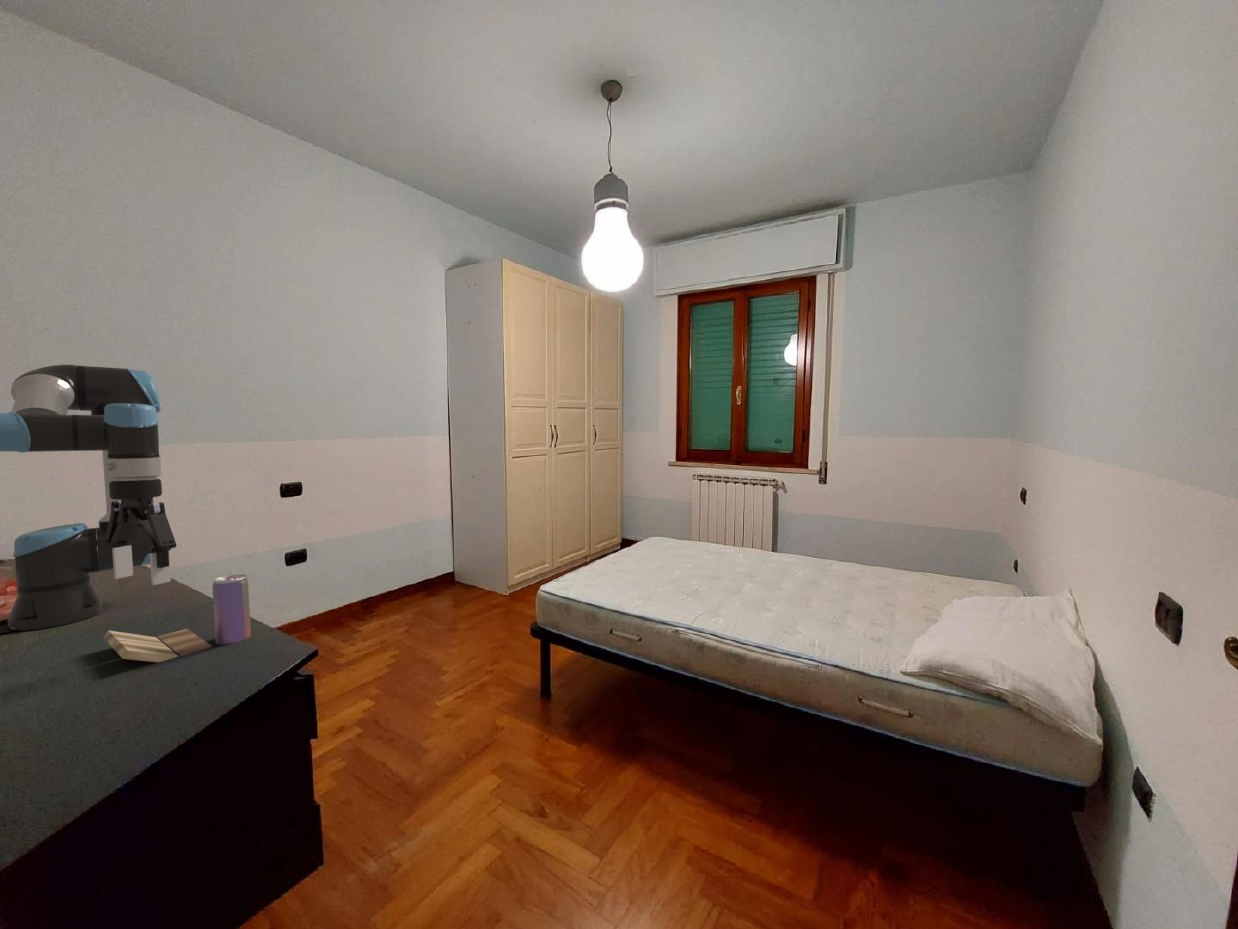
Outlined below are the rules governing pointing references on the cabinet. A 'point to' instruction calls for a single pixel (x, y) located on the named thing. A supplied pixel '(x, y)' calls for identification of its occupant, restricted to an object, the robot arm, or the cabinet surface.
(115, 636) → the oak plank
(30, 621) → the robot arm
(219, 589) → the beverage can
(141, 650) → the oak plank
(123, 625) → the cabinet surface
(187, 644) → the laid board
